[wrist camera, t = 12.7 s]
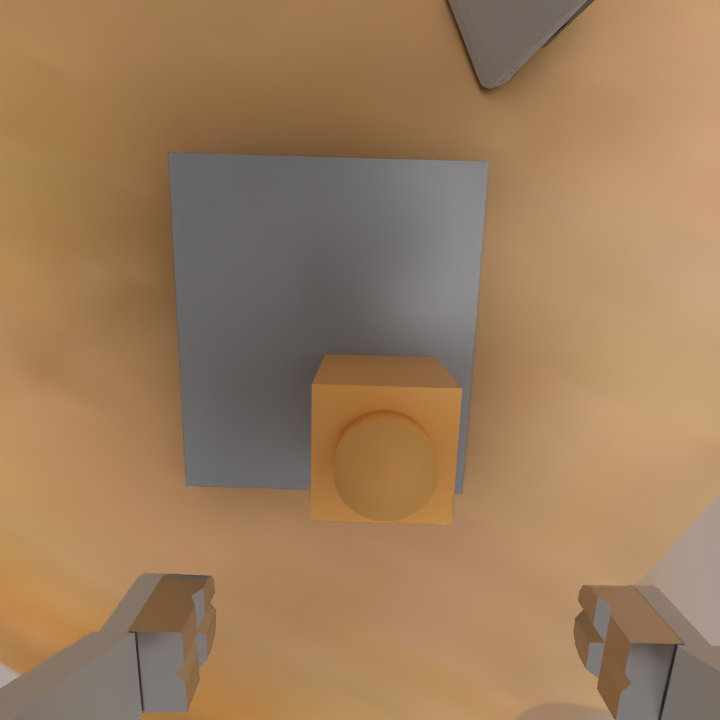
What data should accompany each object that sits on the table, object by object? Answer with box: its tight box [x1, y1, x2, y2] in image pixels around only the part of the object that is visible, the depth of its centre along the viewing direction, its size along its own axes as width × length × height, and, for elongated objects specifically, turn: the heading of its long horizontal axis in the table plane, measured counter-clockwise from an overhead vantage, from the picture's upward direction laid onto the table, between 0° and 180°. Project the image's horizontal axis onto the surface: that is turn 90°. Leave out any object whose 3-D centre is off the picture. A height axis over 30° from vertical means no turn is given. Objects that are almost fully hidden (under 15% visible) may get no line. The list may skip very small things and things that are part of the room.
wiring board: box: [168, 152, 489, 494], centre depth 23 cm, size 18×16×6 cm
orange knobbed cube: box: [311, 354, 462, 525], centre depth 21 cm, size 6×6×8 cm
